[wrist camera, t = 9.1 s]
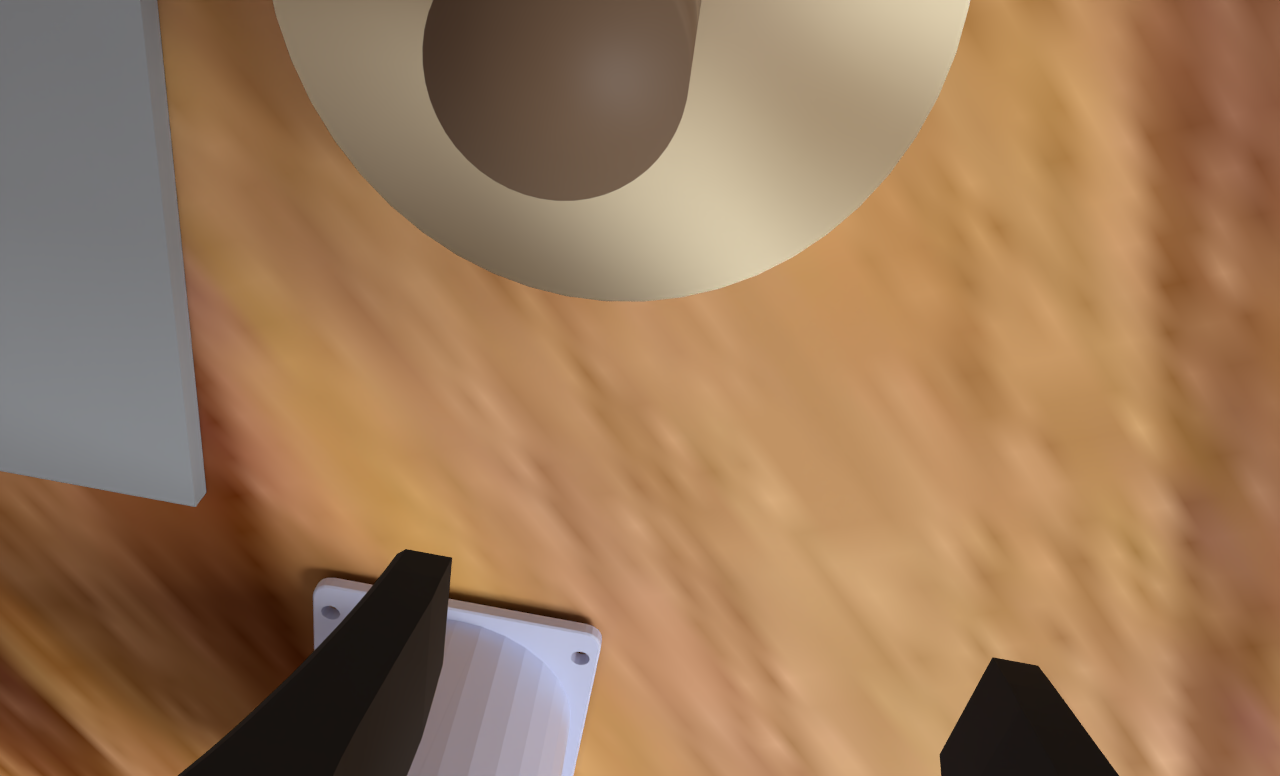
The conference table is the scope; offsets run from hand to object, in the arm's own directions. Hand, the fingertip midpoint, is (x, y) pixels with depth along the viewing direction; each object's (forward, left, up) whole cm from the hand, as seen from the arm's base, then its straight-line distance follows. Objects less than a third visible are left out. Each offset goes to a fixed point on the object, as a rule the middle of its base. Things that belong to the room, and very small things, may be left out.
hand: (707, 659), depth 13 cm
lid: (+7, +3, -6) cm, 10 cm away
